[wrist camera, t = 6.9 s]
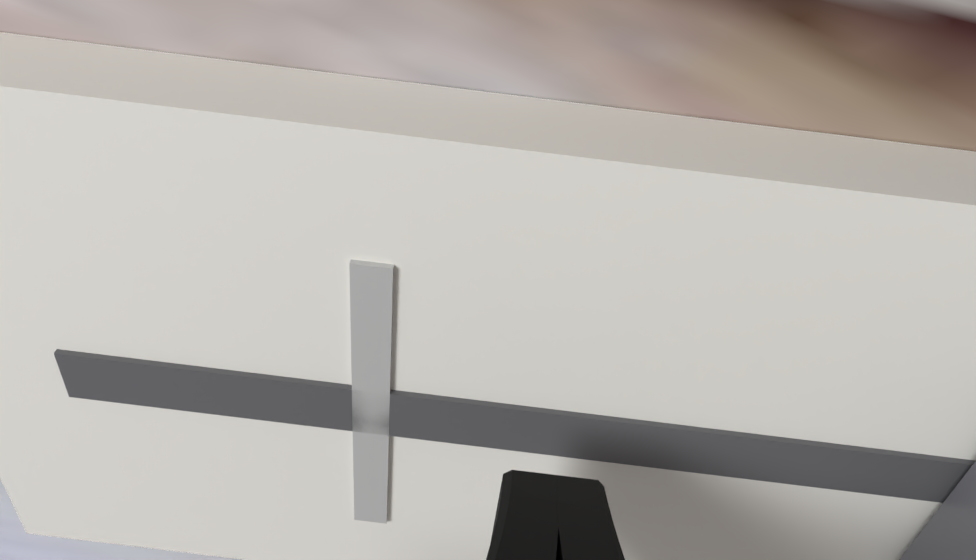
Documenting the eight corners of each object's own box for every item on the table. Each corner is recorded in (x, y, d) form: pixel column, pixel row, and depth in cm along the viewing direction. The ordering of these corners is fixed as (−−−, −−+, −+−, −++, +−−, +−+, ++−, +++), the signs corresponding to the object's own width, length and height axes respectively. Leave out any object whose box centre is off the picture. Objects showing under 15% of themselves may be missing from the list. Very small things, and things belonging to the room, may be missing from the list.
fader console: (64, 472, 17) (23, 538, 16) (-116, 18, 11) (-208, 64, 9) (1068, 594, 17) (1109, 669, 16) (1479, 213, 11) (1604, 287, 9)
